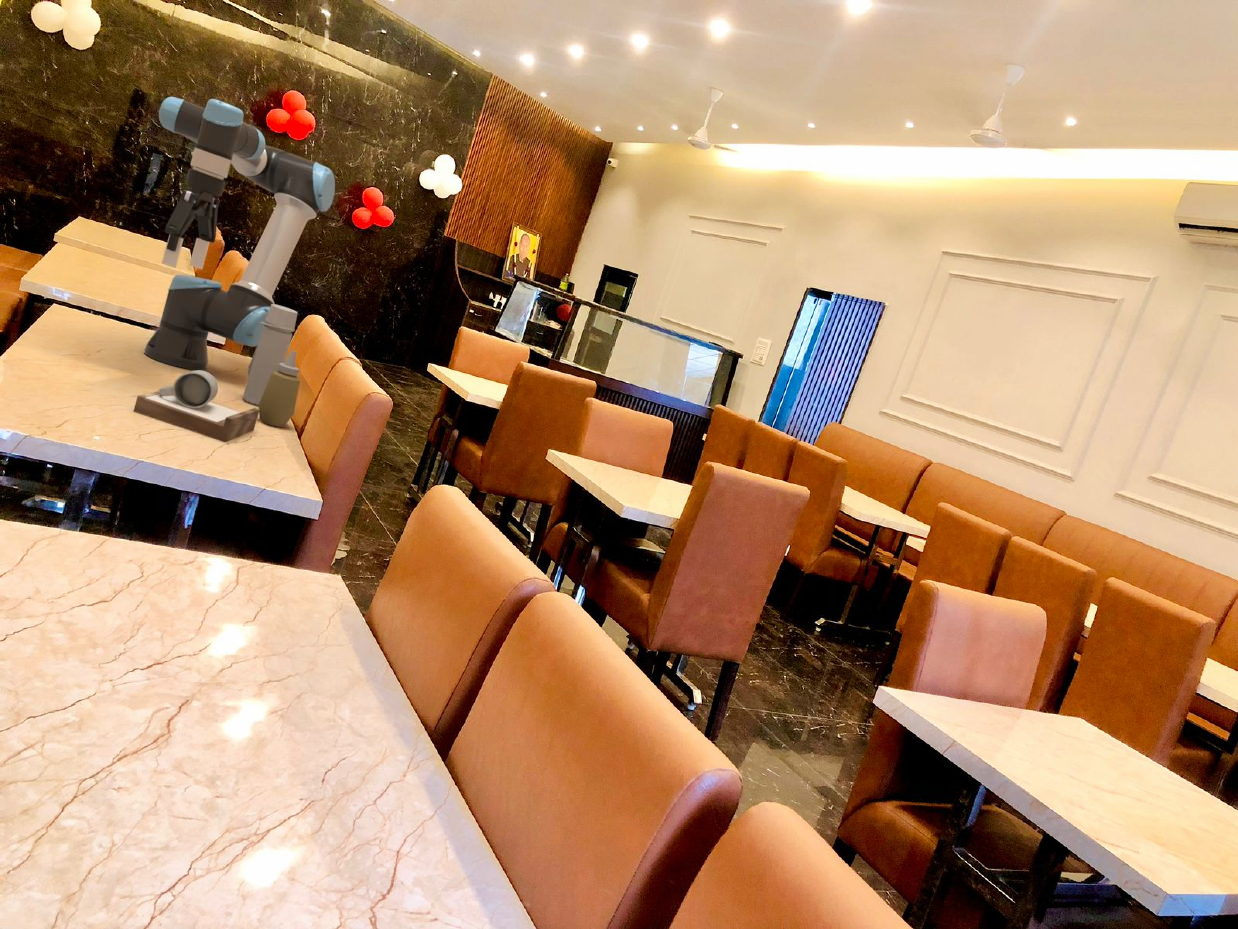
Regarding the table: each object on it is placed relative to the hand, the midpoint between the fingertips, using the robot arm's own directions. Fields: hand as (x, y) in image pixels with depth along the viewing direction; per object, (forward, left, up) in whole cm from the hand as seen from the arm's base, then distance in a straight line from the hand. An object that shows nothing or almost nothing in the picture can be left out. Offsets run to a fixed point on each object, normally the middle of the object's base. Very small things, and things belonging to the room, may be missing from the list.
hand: (182, 266), depth 196 cm
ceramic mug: (+16, +14, -26) cm, 33 cm away
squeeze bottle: (-5, +27, -29) cm, 40 cm away
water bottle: (-20, +17, -29) cm, 39 cm away
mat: (+15, +16, -26) cm, 34 cm away
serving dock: (+15, +17, -29) cm, 37 cm away
